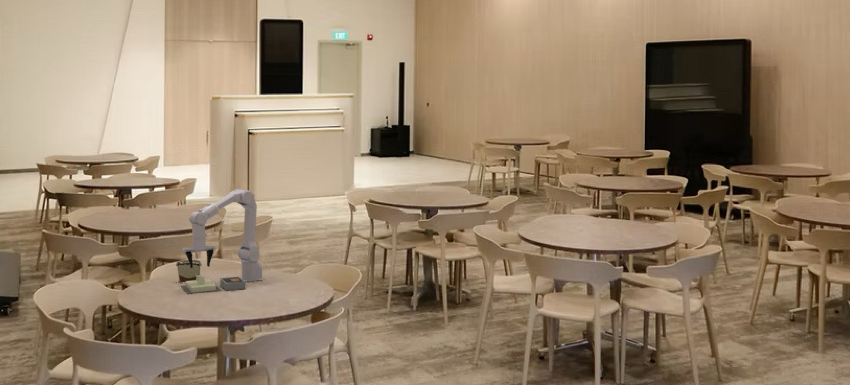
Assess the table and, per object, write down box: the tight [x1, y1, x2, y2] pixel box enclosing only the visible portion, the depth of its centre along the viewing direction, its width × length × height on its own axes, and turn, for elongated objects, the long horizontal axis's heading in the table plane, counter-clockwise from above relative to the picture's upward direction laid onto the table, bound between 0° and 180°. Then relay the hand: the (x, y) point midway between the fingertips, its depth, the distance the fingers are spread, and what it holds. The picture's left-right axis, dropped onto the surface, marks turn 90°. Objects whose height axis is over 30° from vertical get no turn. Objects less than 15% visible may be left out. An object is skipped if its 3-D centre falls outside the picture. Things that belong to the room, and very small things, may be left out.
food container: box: [175, 259, 203, 283], centre depth 446 cm, size 12×6×10 cm, turn 84°
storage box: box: [219, 276, 246, 292], centre depth 432 cm, size 9×13×4 cm
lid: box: [185, 274, 217, 292], centre depth 430 cm, size 11×15×5 cm
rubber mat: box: [180, 284, 222, 295], centre depth 430 cm, size 15×18×1 cm
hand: (199, 267), depth 429 cm, fingers open, 7 cm apart
